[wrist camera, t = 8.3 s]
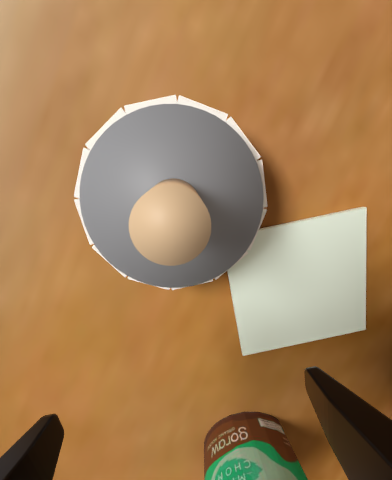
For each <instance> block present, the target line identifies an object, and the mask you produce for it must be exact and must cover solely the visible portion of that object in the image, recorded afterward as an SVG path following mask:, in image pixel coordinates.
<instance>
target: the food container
mask: <svg viewBox="0 0 392 480" xmlns="http://www.w3.org/2000/svg"><path fill="white" fill-rule="evenodd" d="M204 480H308V479H307V477H306V475H305V473H304V471H303V469H302V467H301V465H300V463H299V461H298V459H297V457H296V455H295V453H294V451H293V449H292V447H291V445H290V443H289V441H288V439H287V437H286V435H285V433H284V431H283V429H282V427H281V425H280V423H279V421H278V419H276V418H274V417H272V416H271V415H268V414H264V413H260V412H241V413H237V414H233V415H230V416H228V417H226V418H224V419H222V420H220V421H219V422H217V423H216V424H215V425H214V426H213V427H212V428H211V429H210V430H209V432H208V434H207V435H206V438H205V442H204Z"/></svg>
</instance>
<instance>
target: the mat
mask: <svg viewBox="0 0 392 480" xmlns="http://www.w3.org/2000/svg"><path fill="white" fill-rule="evenodd" d="M366 215H367V207H359V208H355V209H350V210H345V211H340V212H336V213H331V214H326V215H322V216H317V217H312V218H308V219H303V220H298V221H294V222H289V223H284V224H280V225H275V226H270V227H265V228H261V229H259V231H258V233H257V236H256V238H255V240H254V243H253V245H252V248H251V250H247V252H248V254H247V255H245V256H244V257H243V258H242V259H241V260H239V261H238V262H237V263H236V264H235V265H233V266H232V267H231V268H230V269H228V270H227V273H228V278H229V284H230V289H231V295H232V300H233V306H234V312H235V317H236V323H237V328H238V334H239V339H240V345H241V350H242V355H243V356H245V355H250V354H254V353H259V352H264V351H268V350H273V349H278V348H282V347H287V346H292V345H296V344H301V343H306V342H311V341H315V340H320V339H325V338H329V337H334V336H339V335H343V334H348V333H353V332H357V331H362V330H366Z"/></svg>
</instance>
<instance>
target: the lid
mask: <svg viewBox="0 0 392 480" xmlns="http://www.w3.org/2000/svg"><path fill="white" fill-rule="evenodd" d="M263 201H264V195H263V184H262V178H261V174H260V171H259V168H258V164H257V162H256V160H255V158H254V156H253V154H252V152H251V150H250V149H249V147H248V145H247V144H246V142H245V141H244V140H243V139H242V138H241V136H240V135H239V134H238V133H237V132H236V131H235V130H234V129H233V128H232V127H231V126H229V125H228V124H227V123H226V122H224V121H223V120H221V119H220V118H218V117H217V116H215V115H213V114H211V113H209V112H207V111H205V110H202V109H199V108H195V107H192V106H187V105H181V104H159V105H152V106H148V107H144V108H141V109H138V110H136V111H133V112H131V113H129V114H127V115H125V116H123V117H122V118H120V119H119V120H117V121H116V122H114V123H113V124H112V125H111V126H110V127H109V128H108V129H106V130H105V131H104V133H103V134H102V135H101V136H100V137H99V138H98V140H97V141H96V142H95V144H94V146H93V147H92V149H91V151H90V152H89V155H88V157H87V159H86V161H85V164H84V167H83V171H82V175H81V181H80V207H81V214H82V217H83V221H84V224H85V227H86V229H87V232H88V234H89V236H90V238H91V240H92V241H93V243H94V245H95V246H96V248H97V249H98V250H99V252H100V253H101V254H102V255H103V256H104V258H105V259H106V260H107V261H108V262H109V263H110V264H112V265H113V266H114V267H115V268H117V269H118V270H119V271H121V272H122V273H124V274H125V275H127V276H129V277H131V278H133V279H135V280H137V281H140V282H143V283H146V284H149V285H153V286H158V287H167V288H182V287H188V286H194V285H197V284H201V283H204V282H206V281H209V280H211V279H213V278H215V277H217V276H219V275H221V274H222V273H224V272H225V271H227V270H228V269H229V268H231V267H232V266H233V265H234V264H235V263H236V262H237V261H238V260H239V259H240V258H241V257H242V256H243V254H244V253H245V252H246V251H247V249H248V248H249V246H250V245H251V243H252V241H253V239H254V237H255V235H256V233H257V230H258V227H259V224H260V221H261V217H262V212H263Z"/></svg>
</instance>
